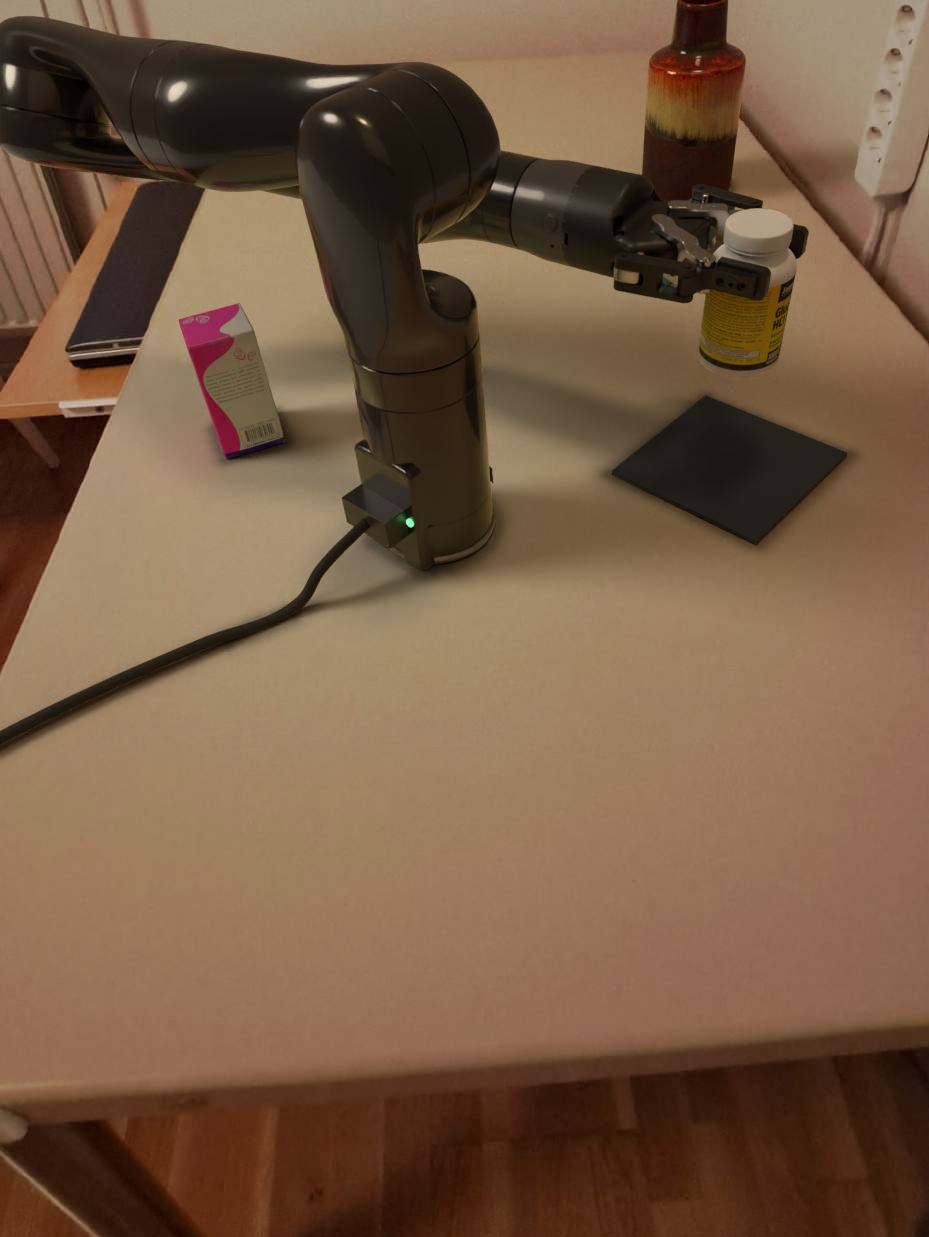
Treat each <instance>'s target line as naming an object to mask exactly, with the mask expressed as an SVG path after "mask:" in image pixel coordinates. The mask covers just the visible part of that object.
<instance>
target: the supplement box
mask: <svg viewBox="0 0 929 1237" xmlns="http://www.w3.org/2000/svg"><path fill="white" fill-rule="evenodd" d="M178 324H179V328H180V331H181V334H182V337H183V340H184V343H185V347H186V349H187V352H188V355H189V358H190V360H191V361H190V362H191V364H192V367H193V369H194V373H195V375H196V376H195V377H196V378H197V379H196V380H197V381H198V385H199V387H200V391H201V393H202V396H203V399H204V402H205V405H206V408H207V410H208V411H207V412H208V414H209V417H210V420H211V423H212V426H213V429H214V431H215V434H216V438H217V440H218V443H219V446H220V448H221V451H222V455H223V457H224V458H225V460H230V459H233V458H236V457H241V456H243V455H246V454H249V453H253V452H256V451H259V450H263V449H266V448H270V447H274V446H277V445H280V444H284V443H286V440H285V436H284V432H283V428H282V424H281V420H280V417H279V413H278V410H277V406H276V403H275V399H274V396H273V392H272V388H271V384H270V382H269V379H268V378H269V377H268V375H267V371H266V367H265V364H264V360H263V357H262V353H261V350H260V345H259V342H258V339H257V336H256V333H255V329H254V327H253V325H252V323H251V322H250V319H249V318H248V316H247V314H246V312H245V310H244V308H243V306H242V304H241V303H240V302H237V303H234V304H230V305H227V306H223V307H219V308H216V309H212V310H208V311H205V312H200V313H198V314H193V315H190V316H186V317H183V318H179V319H178Z"/></svg>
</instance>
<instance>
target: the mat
mask: <svg viewBox="0 0 929 1237" xmlns="http://www.w3.org/2000/svg"><path fill="white" fill-rule="evenodd" d="M847 457H848V452H847V451H844V450H842V449H840V448H837V447H835V446H833V445H830V444H827V443H824V442H823V441H820V440H818V439H815V438H813V437H811V436H808V435H805V434H803V433H800V432H798V431H795V430H792V429H791V428H788V427H785V426H783V425H781V424H778V423H776V422H773V421H770V420H769V419H766V418H763V417H762V416H758V415H756V414H753V413H751V412H748V411H746V410H743V409H741V408H738V407H736V406H734V405H731V404H728V403H726V402H724V401H721V400H719V399H716V398H714V397H711V396H709V395H707V394H706V395H704V396H702V397H701V398H700V399H699V400H697V401H696V402H694V404H693V405H691V406H690V407H689V408H688V409H686V410H685V411H684V412H683V413H682V414H680V415H679V416H678V417H677V418H675V419H674V420H673V421H672V422H670V423H669V424H668V425H667V426H665V427H664V428H663V429H662V430H660V431H659V432H658V433H657V434H656V435H654V436H653V437H652V438H650V439H649V440H648V441H647V442H645V444H643V445H642V446H640V447H639V448H638V449H636V451H634V452H633V453H632V454H631V455H629V456H628V457H626V459H625V460H623V461H622V462H621V463H620V464H618V465H617V466H615V468H613V469H612V470H611V473H610V474H611V475H612V476H614V477H616V478H618V479H620V480H622V481H624V482H626V483H628V484H631V485H632V486H634V487H636V488H638V489H640V490H642V491H645V492H646V493H649V494H651V495H652V496H655V497H657V498H659V499H661V500H663V501H665V502H668V503H669V504H672V505H674V506H675V507H678V508H680V509H682V510H684V511H686V512H688V513H689V514H692V515H694V516H696V517H698V518H701V519H703V520H704V521H706V522H709V523H711V524H713V525H714V526H717V527H719V528H721V529H723V530H725V531H727V532H729V533H731V534H733V535H735V536H738V537H740V538H742V539H744V540H746V541H748V542H750V543H751V544H754V545H757V544H759V543H760V542H761V541H762V540H763V539H764V538H765V536H767V534H769V533H770V532H771V531H772V530H773V529H774V528H775V527H776V526H777V525H778V524H779V523H780V522H781V521H782V520H783V519H784V518H785V517H786V516H787V515H788V514H789V513H790V512H791V511H792V510H793V509H795V508H796V506H798V505H799V503H800V502H802V501H803V499H804V498H806V497H807V496H808V495H809V494H810V493H811V492H812V491H813V490H814V488H816V487H817V486H818V485H819V484H820V483H821V482H822V481H823V480H824V479H825V478H826V477H827V476H828V475H829V474H830V473H831V472H832V471H833V470H834V469H836V467H837V466H838V465H840V464H841V463H842V462H843V461H844V460H845V459H846V458H847Z"/></svg>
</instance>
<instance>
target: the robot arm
mask: <svg viewBox="0 0 929 1237" xmlns="http://www.w3.org/2000/svg"><path fill="white" fill-rule="evenodd" d="M112 126H113V128H114V130H115V132H116V133H117V134H118V135H119V137H113V136H112ZM0 148H1V149H2V150H3V151H5V152H6V153H8V154H9V155H11V156H13V157H15V158H18V159H20V160H23V161H26V162H29V163H31V164H36V165H40V166H43V167H49V168H54V169H60V170H66V171H73V172H79V173H80V172H81V173H87V174H88V173H89V174H96V175H105V176H113V177H124V178H133V179H143V180H154V181H163V182H164V181H165V182H175V183H183V184H186V185H187V184H188V185H190V186H195V187H198V188H201V189H205V190H209V191H210V190H211V191H215V192H222V193H223V192H224V193H246V192H259V191H260V192H263V193H269V194H273V195H279V196H284V197H288V198H291V199H292V198H293V199H298V200H301V201H302V205H303V209H304V210H303V211H304V214H305V217H306V222H307V225H308V230H309V233H310V237H311V240H312V243H313V248H314V252H315V255H316V260H317V264H318V268H319V272H320V276H321V280H322V285H323V288H324V292H325V295H326V298H327V300H328V303H329V306H330V308H331V310H332V313H333V314H334V316H335V318H336V320H337V322H338V324H339V327H340V329H341V331H342V334H343V337H344V342H345V349H346V352H347V357H348V361H349V367H350V372H351V377H352V382H353V388H354V395H355V399H356V403H357V405H356V406H357V411H358V415H359V421H360V426H361V431H362V437H363V438H362V439H361V440H360V441H358V442H356V443H355V445H354V454H355V458H356V464H357V468H358V474H359V478H360V484H359V485H358V486H356V487H355V488H353V489H352V490H350V491H349V492H347V493H346V494H344V495H343V496H341V502H342V507H343V511H344V515H345V520H346V523H347V524H349V525H350V526H352V528H351V529H350V530H349V531H348V532H347V533H345V535H343V537H342V538H341V539H339V540H338V541H337V542H336V543H335V544H334V545H333V547H332V548H330V550H328V551H327V553H326V554H325V555H324V556H323V557H322V558H321V559H320V560H319V562H318V563H317V564H316V566H314V568H313V570H312V571H311V572H310V575H309V577H308V578H307V580H306V582H305V584H304V586H303V589H302V590H301V592H299V594H298V595H297V596H296V597H295V598H294V599H292V600H291V601H290V602H288V603H287V604H286V605H284V606H282V607H281V608H279V609H278V610H276V611H274V612H272V613H271V614H268V615H266V616H263V617H260V618H258V619H255V620H252V621H249V622H246V623H243V624H240V625H237V626H233V627H230V628H226V629H223V630H220V631H217V632H213V633H211V634H208V635H206V636H203V637H200V638H198V639H196V640H193V641H191V642H189V643H186V644H184V645H182V646H179V647H177V648H174V649H172V650H169V651H168V652H165V653H163V654H160V655H158V656H156V657H153V658H151V659H149V660H147V661H144V662H141V663H138V664H137V665H135V666H133V667H130V668H128V669H126V670H124V671H121V672H119V673H117V674H114V675H112V676H110V677H107V678H106V679H103V680H101V681H99V682H97V683H94V684H92V685H90V686H89V687H86V688H84V689H81V690H80V691H78V692H76V693H74V694H71V695H69V696H67V697H65V698H63V699H61V700H59V701H57V702H55V703H52V704H50V705H49V706H46V707H44V708H42V709H40V710H38V711H35V712H34V713H32V714H30V715H28V716H26V717H24V718H22V719H20V720H18V721H16V722H14V723H13V724H10V725H9V726H6V727H5V728H2V729H1V730H0V746H1V745H4V744H5V743H7V742H9V741H11V740H12V739H15V738H17V737H18V736H20V735H22V734H24V733H27V732H28V731H31V730H32V729H34V728H36V727H38V726H40V725H42V724H43V723H46V722H48V721H51V720H52V719H54V718H55V717H58V716H60V715H62V714H64V713H67V712H69V711H70V710H73V709H74V708H77V707H79V706H81V705H83V704H85V703H88V702H89V701H92V700H93V699H96V698H98V697H101V696H102V695H104V694H106V693H108V692H110V691H113V690H115V689H118V688H120V687H121V686H124V685H126V684H128V683H131V682H133V681H135V680H137V679H139V678H142V677H144V676H147V675H149V674H151V673H154V672H156V671H158V670H160V669H162V668H165V667H167V666H170V665H171V664H175V663H176V662H179V661H181V660H184V659H186V658H188V657H191V656H193V655H195V654H197V653H200V652H202V651H204V650H207V649H210V648H212V647H215V646H218V645H220V644H223V643H227V642H230V641H233V640H236V639H240V638H242V637H247V636H250V635H253V634H255V633H258V632H261V631H264V630H265V629H266V630H267V629H268V628H271V627H273V626H275V625H277V624H280V623H282V622H283V621H285V620H287V619H288V618H290V617H292V616H293V615H294V614H296V613H297V612H299V611H300V610H301V609H303V608H304V607H305V606H306V605H307V604H308V603H309V601H310V600H311V599H312V597H313V595H314V594H315V592H316V590H317V588H318V586H319V584H320V582H321V580H322V578H323V577H324V576H325V574H326V573H327V572H328V570H329V569H330V568H331V567H332V566H333V565H334V563H336V561H337V560H339V558H341V557H342V555H343V554H344V553H345V552H346V551H347V550H348V549H349V548H350V547H351V546H352V545H354V543H355V542H357V541H358V540H359V538H361V536H363V535H364V534H365V535H366V536H368V537H370V538H371V539H372V540H373V541H374V542H376V543H378V544H379V545H381V546H382V547H384V548H386V549H387V550H389V551H390V552H391V553H392V554H394V555H395V556H397V557H398V558H401V559H403V560H405V561H406V562H408V563H409V564H411V565H412V566H414V567H415V568H417V569H419V570H420V571H423V572H424V571H427V570H428V569H430V568H431V567H433V566H435V565H439V564H440V565H441V564H446V563H451V562H455V561H458V560H461V559H463V558H467V557H469V556H470V555H472V554H474V553H476V552H477V551H479V550H480V549H481V548H482V547H483V546H484V545H485V544H486V543H487V542H488V541H489V539H490V538H491V536H492V534H493V532H494V528H495V524H496V523H495V521H496V520H495V519H496V518H495V510H494V507H493V497H492V484H494V474H493V468H492V467H491V466H490V458H489V457H490V455H489V443H488V441H489V440H488V429H487V417H486V416H487V415H486V402H485V388H484V373H483V359H482V348H481V347H482V345H481V332H480V319H479V308H478V302H477V299H476V296H475V294H474V292H473V290H472V288H470V286H468V284H466V283H465V282H464V281H463V280H461V279H460V278H458V277H456V276H454V275H451V274H448V273H445V272H442V271H438V270H433V269H425V268H422V264H421V258H420V250H419V245H422V244H432V243H440V242H446V241H459V240H461V241H463V240H464V241H477V242H484V243H489V244H495V245H499V246H502V247H506V248H510V249H514V250H517V251H522V252H524V253H528V254H530V255H532V256H534V257H537V258H539V259H541V260H545V261H547V262H551V263H555V264H559V265H563V266H566V267H569V268H574V269H578V270H581V271H586V272H589V273H593V274H597V275H601V276H604V277H607V278H608V277H609V278H612V279H613V286H612V287H613V289H614V290H615V291H617V292H622V293H627V294H631V295H637V296H643V297H649V298H654V299H658V300H663V301H669V302H674V303H680V304H690V303H691V302H692V301H693V300H694V295H695V294H699V295H705V294H708V293H710V292H711V291H712V290H716V291H720V292H724V293H728V294H732V295H736V296H740V297H744V298H748V299H752V300H756V301H760V300H762V299H763V298H764V297H765V296H766V295H767V293H768V289H769V284H770V278H771V271H770V269H769V268H767V267H765V266H760V265H756V264H752V263H748V262H743V261H739V260H735V259H731V258H726V257H721V258H720V259H719V260H718V262H716V257H715V256H714V255H713V254H714V252H715V251H716V250H717V249H718V248H719V247H720V246H721V245H723V244H724V242H723V239H724V230H725V223H726V220H727V219H728V217H729V216H731V215H732V214H734V213H736V212H738V211H742V210H747V209H755V208H762V209H763V205H764V201H763V200H762V199H759V198H756V197H752V196H749V195H745V194H741V193H738V192H733V191H730V190H729V191H726V190H723V189H719V188H715V187H711V186H708V185H704V184H698V185H695V186H693V191H692V198H691V199H689V200H688V201H687V200H661V199H660V198H659V197H658V196H657V194H656V192H655V190H654V187H653V185H652V183H651V181H650V180H649V179H648V178H647V177H645V176H643V175H642V174H638V173H634V172H629V171H623V170H619V169H614V168H609V167H605V166H601V165H600V166H599V165H593V164H590V163H585V162H579V161H575V160H569V159H548V158H543V157H537V156H533V155H528V154H522V153H517V152H513V151H507V150H502V149H501V141H500V135H499V130H498V129H497V126H496V124H495V120H494V118H493V116H492V114H491V112H490V110H489V108H488V107H487V106H486V103H485V102H484V101H483V99H482V98H481V97H480V96H479V94H478V93H477V92H476V91H475V89H473V88H472V87H471V86H470V84H468V83H467V82H466V81H464V80H463V79H462V78H461V77H459V76H458V75H457V74H455V73H454V72H452V71H450V70H448V69H446V68H444V67H442V66H440V65H436V64H433V63H428V62H423V61H403V62H386V63H361V64H359V63H358V64H329V63H319V62H314V61H313V62H312V61H308V60H307V61H306V60H301V59H296V58H292V57H285V56H280V55H274V54H268V53H263V52H262V53H261V52H255V51H248V50H242V49H235V48H230V47H225V46H222V45H216V44H212V43H203V42H197V41H188V40H177V39H164V38H150V37H148V38H147V37H137V36H127V35H119V34H114V33H111V32H107V31H103V30H99V29H95V28H90V27H89V26H84V25H79V24H76V23H72V22H68V21H64V20H60V19H56V18H50V17H44V16H36V15H16V16H13V17H12V16H11V17H7V18H6V19H4V20H2V21H1V22H0ZM711 226H713V227H716V231H715V236H714V238H713V239H712V240H710V241H709V237H710V229H711ZM809 234H810V232H809V229H808V228H807V227H806V226H804V225H800V224H795V223H794V228H793V234H792V240H791V243H790V245H789V247H788V248H789V249H790V250H791V251H792V252H793V254H794V256H795V258H796V260H798V259H800V258H801V257H802V256H803V255H804V254H805V252H806V249H807V243H808V238H809ZM663 277H664V278H666V279H667V280H669V281H670V282H672V283H671V284H673V285H675V286H673V285H669V286H668V285H665V284H664V283H663Z"/></svg>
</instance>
